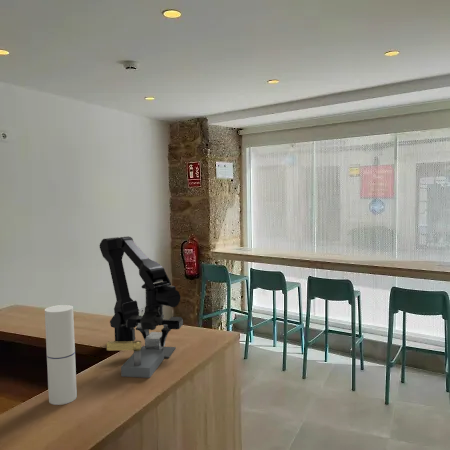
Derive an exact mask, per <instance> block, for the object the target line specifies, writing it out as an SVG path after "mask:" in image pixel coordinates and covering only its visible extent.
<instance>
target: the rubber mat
mask: <svg viewBox="0 0 450 450" xmlns="http://www.w3.org/2000/svg"><path fill="white" fill-rule="evenodd" d="M141 349H145V345H141ZM162 350H164V359H170V357H171V356H172V354H173V353H174V352H175V351H176V346H164V347H163V348H162Z"/></svg>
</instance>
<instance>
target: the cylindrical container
mask: <svg viewBox="0 0 450 450" xmlns="http://www.w3.org/2000/svg"><path fill="white" fill-rule="evenodd" d="M74 316H75V315H74V306H73V305H71V304H70V305H69V304H59V305H52V306H47V307H46V308H45V309H44V321H45V322H44V324H45V343H46V344H45V345H46V365H47V367H46V368H47V370H46V371H47V388H48V402H49V404H51V405H54V406H58V405H59V406H61V405H66V404H67V405H68V404H70V403H71V402H73V401H75V400H76V399H77V396H78V395H77V393H78V392H77V372H76V371H77V368H76V347H75V346H76V344H75V343H76V341H75V321H74V318H75V317H74Z"/></svg>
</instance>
